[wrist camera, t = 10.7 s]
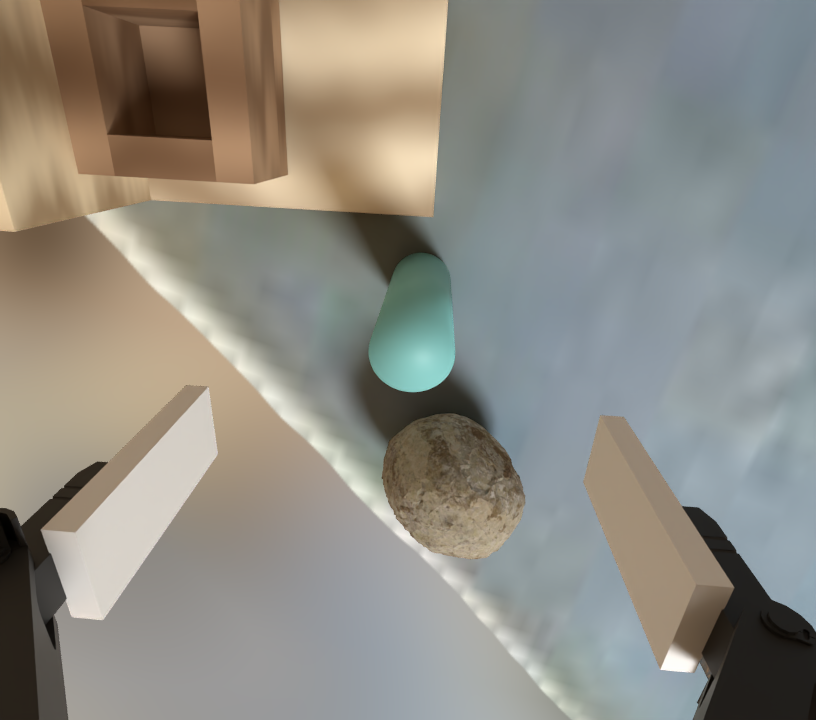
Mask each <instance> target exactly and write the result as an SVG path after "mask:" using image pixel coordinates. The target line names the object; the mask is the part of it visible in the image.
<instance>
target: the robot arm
mask: <svg viewBox="0 0 816 720" xmlns="http://www.w3.org/2000/svg"><path fill="white" fill-rule="evenodd" d="M217 454H218V451H217V444H216V437H215V430H214V423H213V416H212V409H211V401H210V394H209V387H204V386H191V385H186V386H185V387H184V388H183V389H182V390H181V391H180V392H179V393H178V394H177V395H176V396H175V397H174V398H173V399H172V400H171V401H170V402H169V403H168V404H167V405H166V406H165V407H164V408H163V409H162V410H161V411H160V412H159V413H158V414H157V415H156V416H155V417H154V418H153V419H152V420H151V421H150V422H149V423H148V424H147V425H146V426H145V427H144V428H143V429H142V430H141V431H139V432H138V433H137V435H136V436H134V437H133V439H132V440H130V441H129V443H127V445H125V446H124V447H123V448H122V449H121V450H120V451H119V452H118V453H117V454H116V455H115V456H114V458H112V460H110V461H109V462H96V463H94V464H93V465H91V466H89V467H87V468H86V469H84V470H82V471H80V472H79V473H77V474H76V475H75V476H74V477H73V478H72V479H71V480H70V481H69V482H68V483H67V484H66V485H65V486H64V488H61V489H60V490H59V491H58V492H57V493H56V494H55V495H54V496H53V499H50V500H49V501H47V502H46V503H45V504H44V505H43V506H42V507H41V508H40V509H39V510H38V511H37V512H36V513H35V514H34V515H33V516H31V517H30V519H28V520H27V521H26V522H25V523H24V524H23V525H22V526H20V523H19V521H18V518H17V516H16V514H15V512H14V511H12V510H9V509H6V508H0V720H68V714H67V704H66V695H65V686H64V678H63V669H62V661H61V651H60V642H59V634H58V625H57V621H56V619H55V616H54V614H55V613H56V611H57V610H58V609H59V608H60V606H61V605H62V604H63V603H64V601H65V600H66V602H67V605H68V608H69V610H70V613H71V616H72V617H76V618H87V619H98V620H103V619H104V618H105V616H106V615H107V613H108V612H109V611H110V609H111V608H112V606H113V605H114V603H115V602H116V601H117V599H118V598H119V596H120V595H121V593H122V591H123V590H124V589H125V588H126V586H127V585H128V583H129V582H130V580H131V579H132V577H133V576H134V575H135V573H136V572H137V570H138V569H139V567H140V566H141V564H142V563H143V562H144V560H145V559H146V557H147V556H148V554H149V553H150V551H151V550H152V549H153V547H154V546H155V544H156V543H157V541H158V540H159V538H160V537H161V536H162V534H163V533H164V531H165V530H166V528H167V527H168V525H169V524H170V522H171V521H172V520H173V518H174V517H175V515H176V514H177V512H178V511H179V510H180V508H181V507H182V505H183V504H184V502H185V501H186V499H187V498H188V496H189V495H190V494H191V492H192V491H193V489H194V488H195V486H196V485H197V483H198V482H199V481H200V479H201V478H202V476H203V475H204V473H205V472H206V470H207V469H208V468H209V466H210V465H211V463H212V462H213V460H214V459H215V457H216V456H217ZM583 483H584V485H585V487H586V490H587V492H588V495H589V497H590V500H591V502H592V504H593V507H594V509H595V512H596V514H597V517H598V519H599V522H600V524H601V526H602V529H603V531H604V534H605V536H606V539H607V541H608V543H609V546H610V548H611V551H612V553H613V556H614V558H615V560H616V563H617V565H618V568H619V570H620V573H621V575H622V578H623V580H624V582H625V585H626V587H627V590H628V592H629V595H630V597H631V599H632V602H633V604H634V607H635V609H636V612H637V614H638V617H639V619H640V621H641V624H642V626H643V629H644V631H645V634H646V636H647V638H648V641H649V643H650V646H651V648H652V651H653V653H654V655H655V658H656V660H657V663H658V665H659V668H660V670H668V671H680V672H691V673H694V672H695V670H696V668H697V666H698V664H699V662H700V660H701V658H702V655H703V657H704V659H705V661H706V663H707V665H708V667H709V669H710V671H711V675H710V677H709V679H708V681H707V683H706V685H705V687H704V690H703V692H702V694H701V696H700V698H699V700H698V702H697V703H698V704H699V705H698V707H697V710H696V712H695V715H694V718H693V720H816V632H815V630H814V629H813V627H812V626H811V625H810V624H809V623H808V622H807V621H806V620H805V619H804V618H803V617H802V616H801V615H800V614H798V613H796V612H795V611H793V610H792V609H790V608H789V607H787V606H785V605H783V604H780V603H778V602H775V601H773V600H771V599H770V597H769V596H768V594H767V593H766V591H765V590H764V589H763V587H762V586H761V584H760V583H759V582H758V580H757V579H756V577H755V576H754V575H753V573H752V572H751V570H750V569H749V568H748V566H747V565H746V563H745V562H744V560H743V559H742V558H741V556H740V555H739V554H737V553H736V549H735V548H734V546H733V545H732V544H731V542H730V541H728V540H727V537H726V535H725V534H724V532H723V531H722V529H721V528H720V527H719V525H718V524H717V522H716V521H714V520H713V519H712V518H711V517H710V516H708V515H707V514H706V513H705V512H703V511H702V510H701V509H700V508H697V507H684V506H681V504H680V503H679V501H678V500H677V498H676V497H675V495H674V494H673V492H672V491H671V489H670V487H669V486H668V484H667V483H666V481H665V480H664V478H663V477H662V475H661V474H660V472H659V470H658V469H657V467H656V466H655V464H654V463H653V461H652V460H651V458H650V457H649V455H648V453H647V452H646V450H645V449H644V447H643V446H642V444H641V443H640V441H639V440H638V438H637V436H636V435H635V433H634V432H633V430H632V429H631V427H630V426H629V424H628V423H627V421H626V419H625V418H624V417H617V416H603V415H600V419H599V423H598V427H597V431H596V434H595V438H594V442H593V446H592V450H591V454H590V458H589V462H588V466H587V470H586V474H585V478H584V482H583Z"/></svg>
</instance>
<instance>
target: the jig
mask: <svg viewBox="0 0 816 720" xmlns="http://www.w3.org/2000/svg"><path fill="white" fill-rule="evenodd" d="M279 9H280V28H281V48H282V67H283V87H284V106H285V125H286V145H287V164H288V175H286V176H282V177H279V178H275V179H271V180H268V181H264V182H261V183H257V184H240V183H223V182H206V181H189V180H172V179H155V178H138V177H121V176H104V175H87V174H78V170H77V166H76V161H75V157H74V152H73V148H72V143H71V139H70V134H69V130H68V125H67V121H66V116H65V112H64V107H63V103H62V98H61V94H60V89H59V85H58V80H57V76H56V71H55V67H54V62H53V58H52V53H51V49H50V44H49V40H48V35H47V31H46V26H45V22H44V17H43V13H42V8H41V4H40V0H0V231H13V232H15V231H19V230H24V229H28V228H33V227H37V226H41V225H45V224H50V223H54V222H58V221H63V220H67V219H71V218H76V217H80V216H84V215H89V214H93V213H97V212H101V211H106V210H110V209H114V208H119V207H123V206H127V205H132V204H136V203H140V202H144V201H149V200H161V201H177V202H194V203H210V204H227V205H243V206H260V207H276V208H293V209H309V210H326V211H342V212H359V213H375V214H392V215H408V216H425V217H433V212H434V197H435V183H436V168H437V154H438V139H439V125H440V110H441V96H442V82H443V67H444V53H445V38H446V24H447V9H448V0H279Z"/></svg>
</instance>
